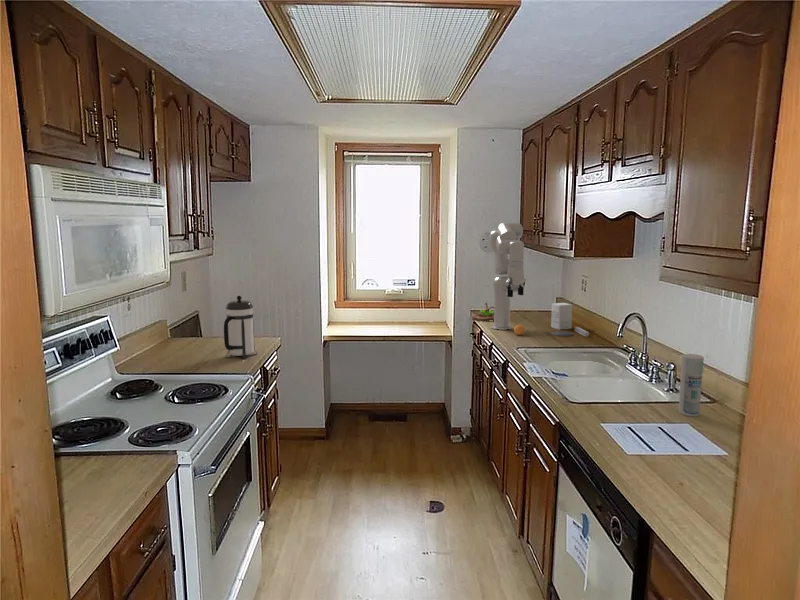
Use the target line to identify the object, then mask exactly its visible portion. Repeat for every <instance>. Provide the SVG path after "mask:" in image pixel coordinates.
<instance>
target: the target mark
mask: <svg viewBox="0 0 800 600" xmlns="http://www.w3.org/2000/svg"><path fill="white" fill-rule="evenodd" d="M551 334H552V335H551ZM550 335H551V336H554V337H572V336H574V333H573V332H569V331H552V332H550Z"/></svg>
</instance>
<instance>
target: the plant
mask: <svg viewBox="0 0 800 600" xmlns="http://www.w3.org/2000/svg"><path fill="white" fill-rule="evenodd" d="M484 305H485V310H484V309H483V310H481V309H480V310H479V311H480V312H481V313H475V314H473V315H472V320H473V321H477V322H480V321H486V322H490V321H489V320H493V321H492V322H494V310H491V309H492V308H493V309H494V306H490V307H489V308H488V303H487V302H485V303H484ZM487 320H488V321H487Z"/></svg>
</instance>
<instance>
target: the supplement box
mask: <svg viewBox="0 0 800 600" xmlns="http://www.w3.org/2000/svg"><path fill="white" fill-rule="evenodd" d="M550 320H551V321H550V322H551V323H550V325H551V328H553V329H556V330H571V329H573V324H572V323H573V304H571V303H567V302H557V303H553V302H552V303H551V319H550Z"/></svg>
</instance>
